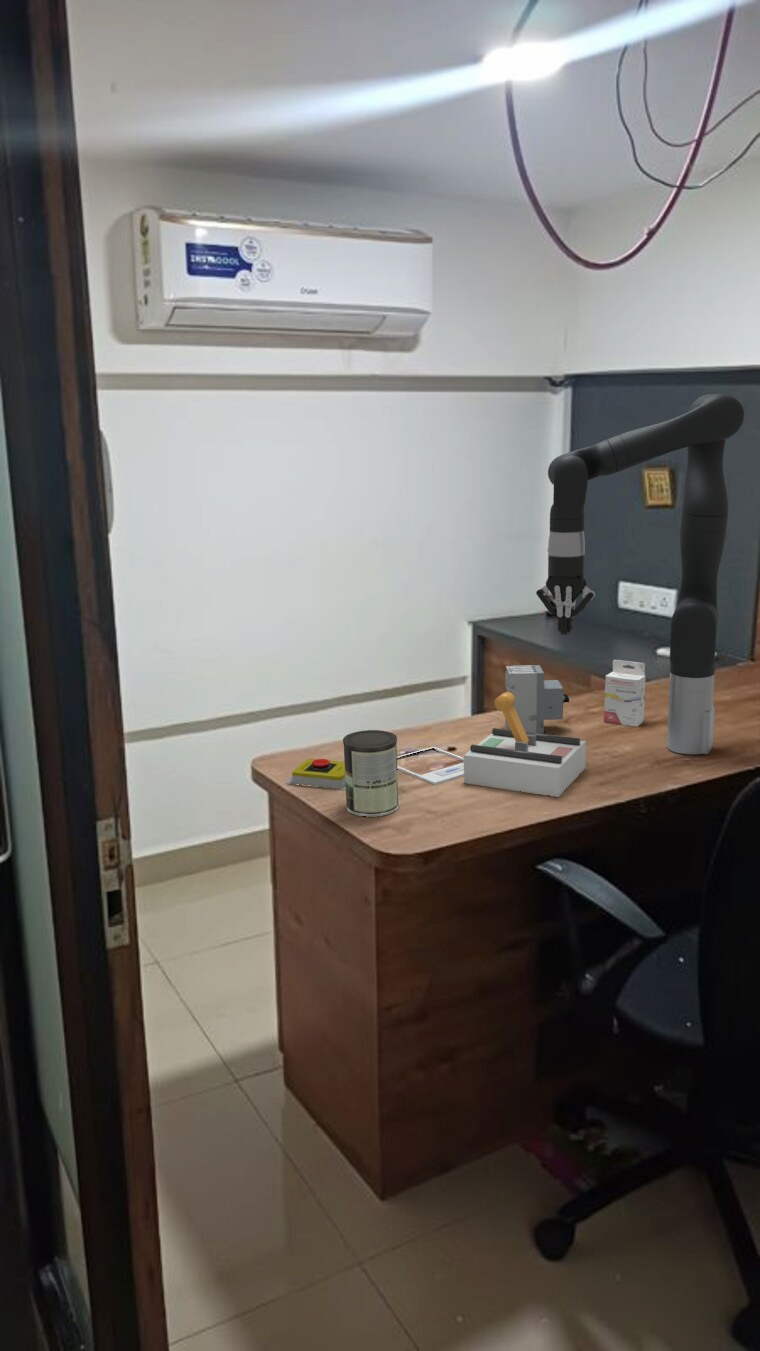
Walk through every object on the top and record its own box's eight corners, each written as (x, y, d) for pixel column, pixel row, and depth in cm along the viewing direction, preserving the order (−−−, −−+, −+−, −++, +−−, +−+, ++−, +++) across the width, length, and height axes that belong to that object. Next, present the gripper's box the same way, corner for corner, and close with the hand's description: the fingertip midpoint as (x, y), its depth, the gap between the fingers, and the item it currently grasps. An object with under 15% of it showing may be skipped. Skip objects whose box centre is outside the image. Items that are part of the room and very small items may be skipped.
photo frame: (434, 781, 203) (381, 760, 217) (434, 786, 203) (381, 764, 217) (487, 765, 211) (433, 745, 225) (487, 770, 212) (433, 750, 226)
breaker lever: (533, 738, 206) (511, 689, 206) (527, 743, 203) (505, 694, 203) (520, 743, 208) (498, 694, 207) (514, 748, 204) (491, 699, 204)
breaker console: (585, 768, 210) (586, 732, 208) (558, 797, 194) (558, 758, 192) (496, 756, 219) (496, 721, 217) (463, 783, 204) (463, 745, 202)
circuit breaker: (569, 734, 232) (570, 672, 228) (508, 736, 233) (508, 673, 229) (564, 725, 239) (565, 664, 236) (505, 726, 240) (505, 666, 236)
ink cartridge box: (603, 722, 240) (604, 663, 237) (610, 717, 244) (611, 658, 241) (637, 727, 236) (639, 667, 232) (644, 721, 240) (646, 662, 236)
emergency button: (301, 752, 214) (366, 757, 209) (302, 771, 215) (367, 777, 210) (283, 766, 206) (350, 772, 201) (284, 786, 207) (351, 793, 202)
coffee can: (334, 808, 192) (331, 739, 189) (372, 793, 200) (369, 726, 196) (373, 822, 185) (370, 750, 182) (410, 805, 193) (408, 736, 189)
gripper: (602, 551, 208) (600, 632, 212) (542, 549, 214) (541, 628, 218) (592, 556, 202) (590, 639, 206) (530, 554, 208) (529, 635, 212)
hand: (565, 633), depth 212 cm, fingers closed
